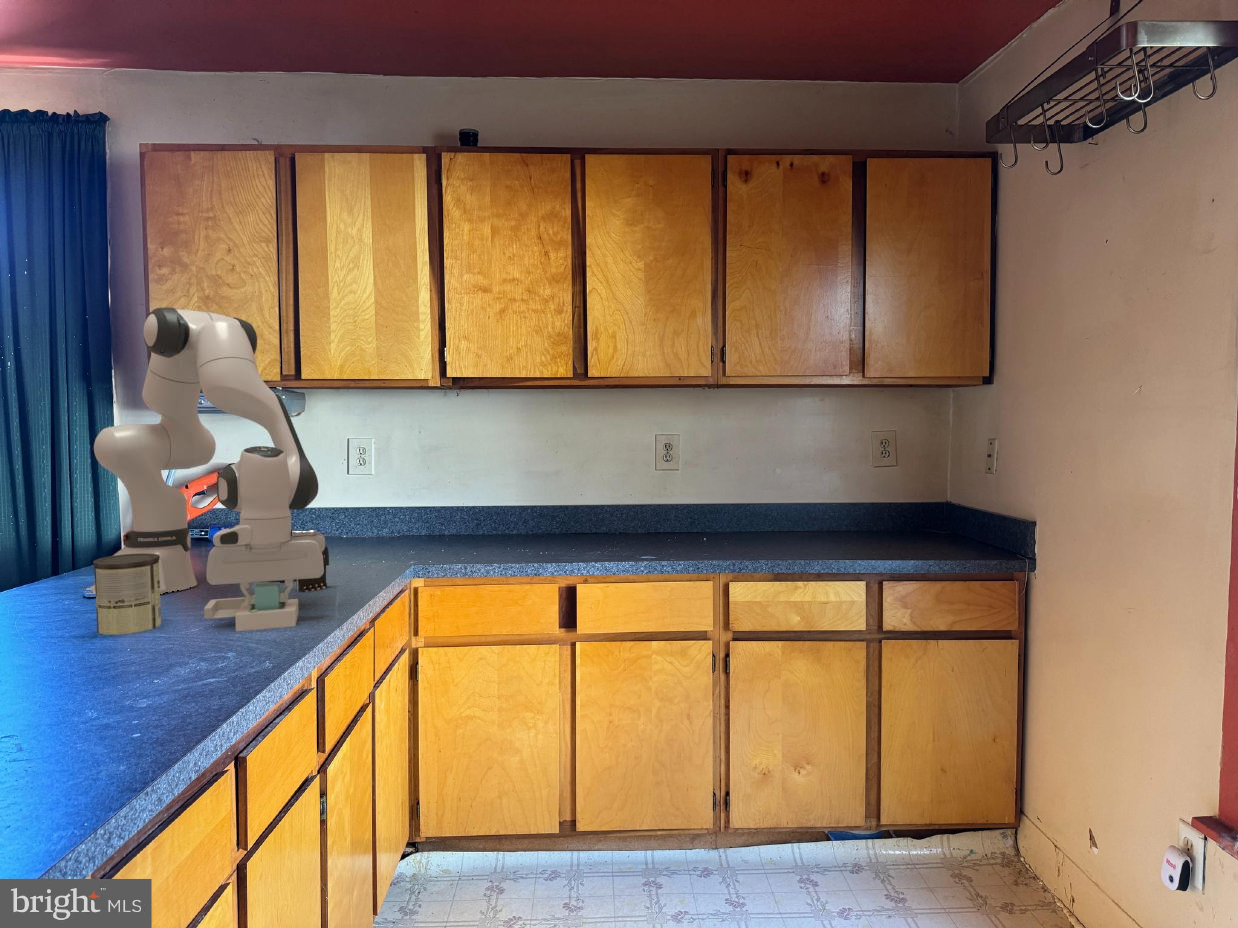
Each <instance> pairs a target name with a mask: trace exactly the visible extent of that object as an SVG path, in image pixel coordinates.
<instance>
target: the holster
mask: <svg viewBox="0 0 1238 928" xmlns="http://www.w3.org/2000/svg"><path fill="white" fill-rule="evenodd" d="M242 603H247V597H246V596H245V597H228V598H218V599H217V598H216V599H210V600H209V601H208V603H207V604H206V605H205V607H204V608H203V619H204V620H210V619H211V620H212V619H222V618H224V619H225V618H232V617H233V618H234V617H235V618H236V616H235V615H236V613H237V611H238V610H239V608H240V606H241V605H242Z"/></svg>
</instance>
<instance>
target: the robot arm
mask: <svg viewBox="0 0 1238 928" xmlns="http://www.w3.org/2000/svg"><path fill="white" fill-rule="evenodd" d="M143 339H144V341H143V342H144V344H145V346H146V347H147V348H148V350H149V351H150V352H151V356H150V359H149V363H148V366H147V367H148V368H147V371H146V375H145V380H144V384H143V388H142V393H141V395H142V400H143V402H144V403H145V405H146V406H147V408H149V409H150V410H151V411H153V412H154V413H156V414H157V415H160V416H161V419H160V421H159V422H158V423H135V424H134V423H125V424H119V425H113V426H109V427H105V428H103V429H102V430H101V431H100V432H99V433H98V435H97V436H96V437H95V441H94V443H93V452H94V455H95V458H96V460H97V462H98V463H99V464H100V465H101V466H102V467H103V468H105V470H107V471H108V472H109V471H110V473H112V474H113V475H115V476H116V478H118V479H119V481H121V483H122V484H123V486H124V487H125V489H126V491H127V494H128V497H129V499H130V508H131V514H132V529H130V530H127V531H126V532H125V534H123V535H122V539H121V540H122V543H123V546H124V547H122V548H121V549H120V550H118V551H117V552H116V553H114V554H113V555H112V556H116V555H124V554H140V553H147V554H148V553H149V554H157V555H159V556H160V559H159V576H160V594H161V595H163V593H165V592H168V593H173V592H172V591H174V592H178V591H177V590H179V591H184V590H187V589H190V587H191V588H193V587H195V586H197V585H198V582H197V580H196V576H195V574H194V570H193V566H192V561H191V556H190V555H191V554H190V553H191V552H190V550H191V547H192V546H191V545H192V542H191V541H192V540H191V530H190V527H189V526H188V503H187V497H186V495H185V494H184V492H182V491H181V490H180V489H179V488H177V487H174V486H172V485H170V484H167V482H166V480H165V479H164V478H163V477H164V476H163V474H162V471H170V470H171V471H172V470H190V469H193V468H198V467H201V466H205V465H206V466H207V465H208V464H209V463H210V462H211V461H212V460H213V457H214V456H215V454H216V449H217V447H216V445H217V444H216V440H215V437H214V435H213V434H212V433H211V431H210V430H209V429H208V428H207V427H206V426H205V425H203V423H202V422H201V420H200V417H199V412H198V408H199V407H198V405H199V399H200V394H201V391H202V394H203V396H204V398H205V399H206V401H207V402H209V403H210V404H211V405H212V406H213V407H215V408H216V409H218V410H220V411H222V412H224V413H226V414H230V415H233V416H237V417H239V418H243V419H245V420H249V421H251V422H253V423H256V424H257V425H259V426H261V427H262V428H264V429H265V431H267V433H268V434H269V436H270V439H271V441H272V443H273V445H274V447H273V446H267V445H261V446H260V445H258V446H257V445H256V446H249V447H246V448H244V449H243V450H242V451H241V452H240V457H239V460H238V461H237V462H235V463H233V464H228V465H227V466H225V467H224V468H223V469H222V470H221V471H220V473H218V475H217V477H216V493H217V501H218V502H219V503H220V504H221V505H222V506H223V507H224V508H226V509H227V510H229V511H231V512H239V513H240V514H239V523H238V524H236V525H232V526H230V527H228V528H224V529H221V530H219V531H217V532H216V533H215V534H214V535H213V537H212V542H213V545H214V547H213V548H212V549H211V550H210V552H209V553H208V556H207V557H208V558H207V564H206V576H205V577H206V582H208V583H209V584H210V585H212V586H215V585H216V586H217V585H218V586H219V585H231V584H232V585H233V584H240V585H239V586H240V590H241V591H242V593H243V594H244V595H245V597H247V605H248V606H254V605H255V594H252V592H251V591H250V590H249V588H250V586H251V583H265V582H280V581H279V580H283V581H284V585H285V586H286V588H285V590H284V591H283V592H280V593H279V604H281V603H288V599H289V593H290V591H291V589H292V587H293V586H294V582H295V580H296V579H310V578H320V577H321V576H322V574H323V573H324V564H323V556H322V551H323V550H324V549H325V545H326V538H325V536H324V534H322V532H319V531H317V530H316V529H315V530H314V529H310V530H292V513H291V510H292V511H293V510H294V511H299V510H300V511H301V510H304V509H305V508H307V507H308V506H309V505H311V504H312V502H313V501H314V500H315V499H316V497H317V495H318V494H319V480H318V476H317V474H316V471H315V469H314V467H313V466H312V464H311V462H310V461H309V459H308V457H307V456H306V453H305V451H304V448H303V446H302V443H301V441H300V439H299V436H298V433H297V431H296V428H295V426H294V423H293V421H292V419H291V416H290V414H289V412H288V409H287V407H286V405H285V403H284V401H283V399H282V397H281V396H280V395H279V393H277V392H275V391H273V390H271V388H270V387H269V386H268V385H267V384H266V383H265V381H264V380H263V378H262V376H261V375H260V373H259V370H258V366H257V365H258V364H257V360H256V357H255V355H256V351H257V348H258V347H257V346H258V335H257V331H256V330H255V328H254V326H253V324H252V323H250V322H248V321H247V320H244V319H242V318H239V317H230V316H227V315H223V314H219V313H215V312H212V311H211V312H210V311H199V310H192V309H181V308H180V309H179V308H175V307H167V306H166V307H156V308H154V309H153V310H151V311H150V312H149V313H148V314H147V316H146V318H145V321H144V324H143ZM89 587H90V588H89ZM89 587H87V588H85V589H86V590H92V591H93V593H91V592H90V593H86V594H96V590H95V583H94V585H92V586H89ZM85 592H86V591H85ZM165 594H166V593H165Z"/></svg>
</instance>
